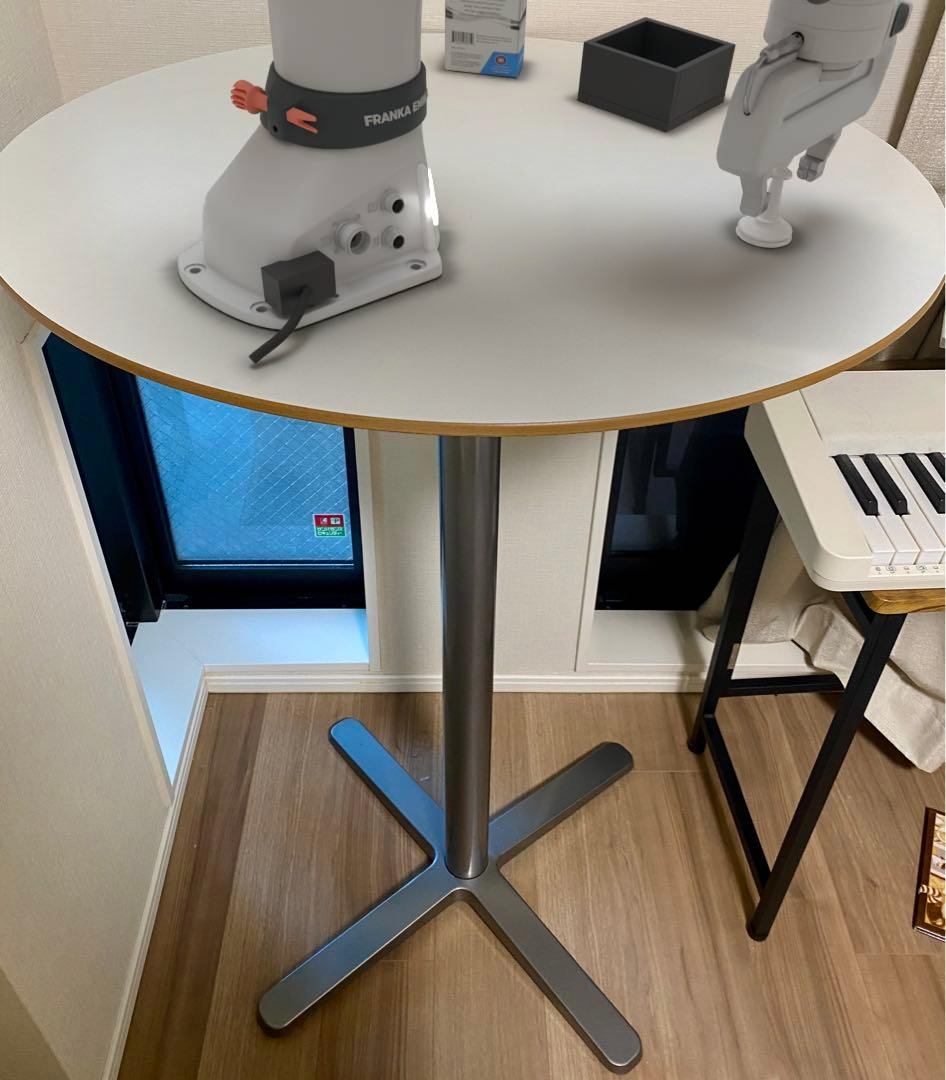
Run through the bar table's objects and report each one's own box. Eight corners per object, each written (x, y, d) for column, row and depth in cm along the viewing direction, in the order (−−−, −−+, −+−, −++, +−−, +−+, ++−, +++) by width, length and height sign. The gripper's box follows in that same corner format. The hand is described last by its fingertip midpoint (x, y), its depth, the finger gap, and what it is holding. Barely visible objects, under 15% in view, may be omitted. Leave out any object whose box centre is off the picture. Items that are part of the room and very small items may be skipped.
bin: (666, 132, 103) (677, 72, 99) (577, 100, 108) (583, 41, 104) (723, 101, 109) (736, 44, 105) (636, 72, 114) (645, 16, 110)
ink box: (524, 64, 115) (533, -50, 107) (516, 79, 111) (524, -37, 103) (452, 55, 116) (455, -59, 108) (442, 70, 113) (444, -46, 104)
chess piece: (733, 242, 87) (761, 129, 80) (737, 217, 90) (765, 106, 83) (790, 252, 86) (823, 138, 79) (792, 226, 90) (825, 114, 82)
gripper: (795, 64, 68) (749, 250, 77) (923, 1, 79) (869, 170, 88) (717, 41, 71) (682, 222, 80) (851, -17, 82) (806, 149, 91)
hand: (781, 194), depth 85 cm, fingers open, 8 cm apart
